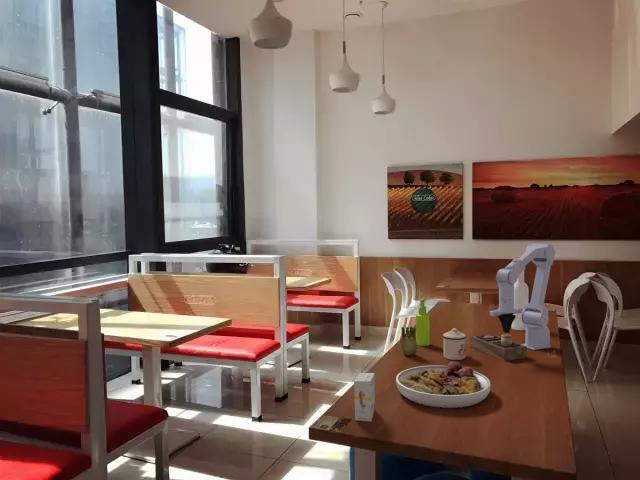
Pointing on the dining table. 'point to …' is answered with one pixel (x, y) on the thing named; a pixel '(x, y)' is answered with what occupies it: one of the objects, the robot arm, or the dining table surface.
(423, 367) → the bowl
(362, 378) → the ink box
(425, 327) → the soap dispenser
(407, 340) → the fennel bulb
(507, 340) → the peg
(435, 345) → the dining table surface
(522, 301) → the bottle
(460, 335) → the teacup with lid
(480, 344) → the walnut block
